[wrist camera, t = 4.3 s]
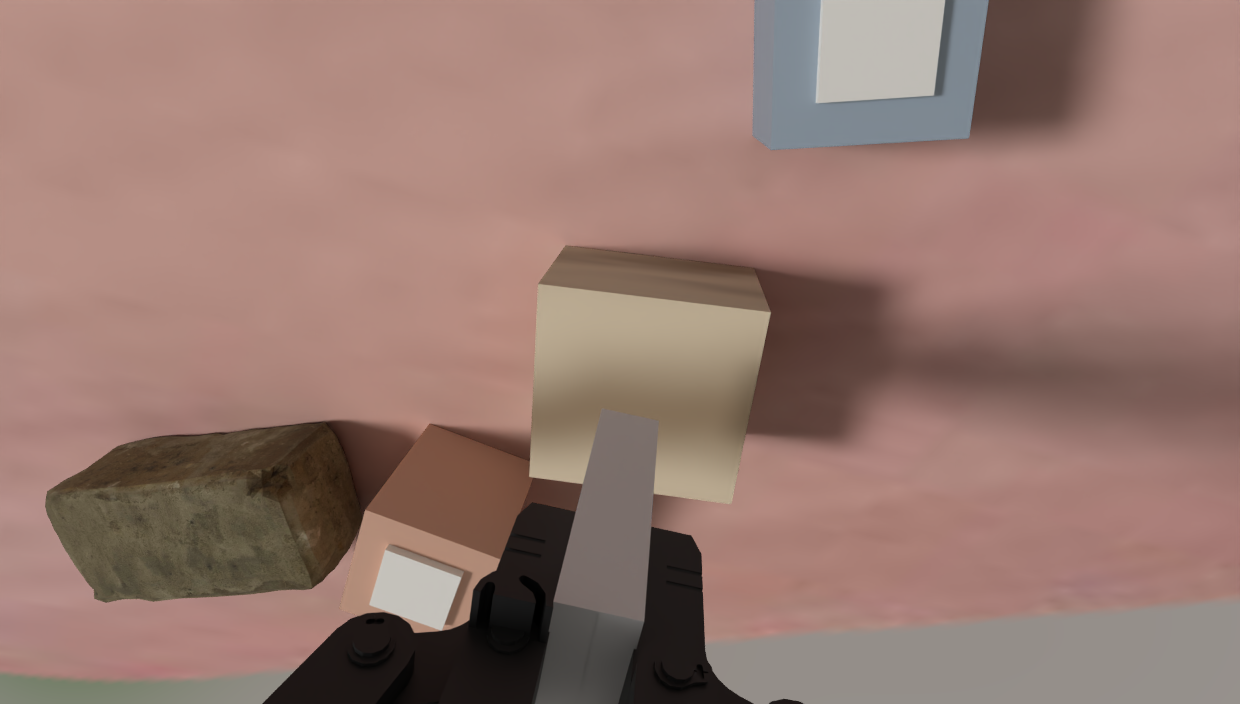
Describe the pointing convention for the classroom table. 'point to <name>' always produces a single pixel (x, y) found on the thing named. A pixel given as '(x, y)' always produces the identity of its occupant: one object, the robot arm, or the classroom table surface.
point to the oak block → (647, 364)
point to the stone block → (209, 514)
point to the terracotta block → (436, 531)
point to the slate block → (865, 71)
